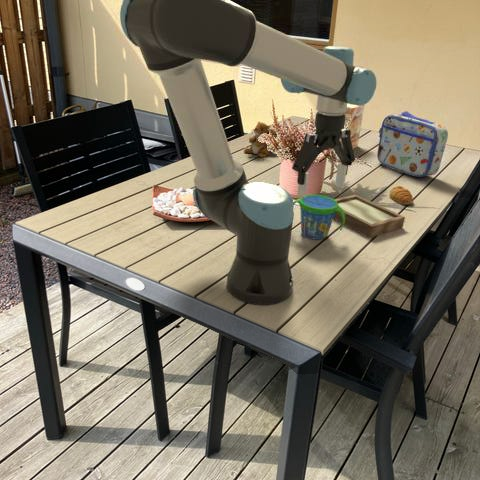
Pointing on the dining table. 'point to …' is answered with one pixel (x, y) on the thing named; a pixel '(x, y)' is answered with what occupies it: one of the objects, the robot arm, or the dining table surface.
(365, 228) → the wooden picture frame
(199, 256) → the dining table surface
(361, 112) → the coffeecake box
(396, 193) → the pastry
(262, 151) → the stuffed squirrel
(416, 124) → the lunch box
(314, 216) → the snack cup
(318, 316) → the dining table surface
